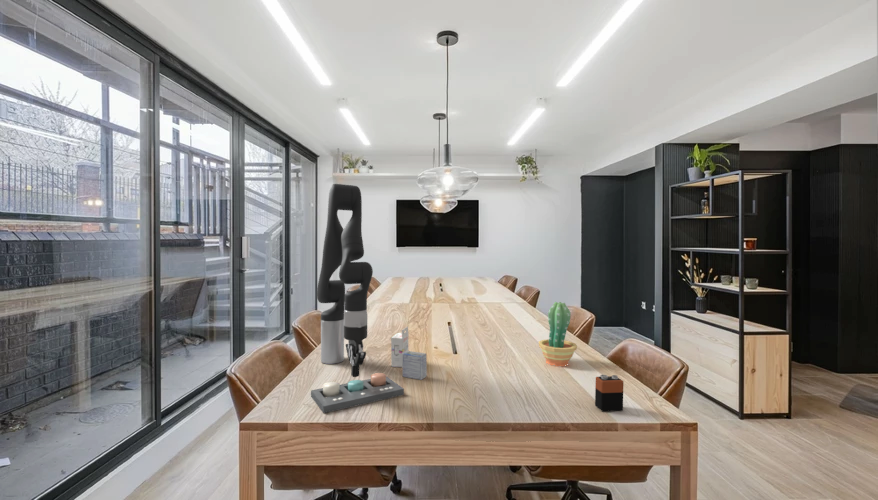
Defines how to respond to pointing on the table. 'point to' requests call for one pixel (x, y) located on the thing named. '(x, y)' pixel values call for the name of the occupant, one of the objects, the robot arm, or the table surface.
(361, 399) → the button panel
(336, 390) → the cream button
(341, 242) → the robot arm
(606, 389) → the battery
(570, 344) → the potted cactus
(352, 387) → the teal button
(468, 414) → the table surface
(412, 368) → the medicine box
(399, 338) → the ink cartridge box
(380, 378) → the terracotta button
